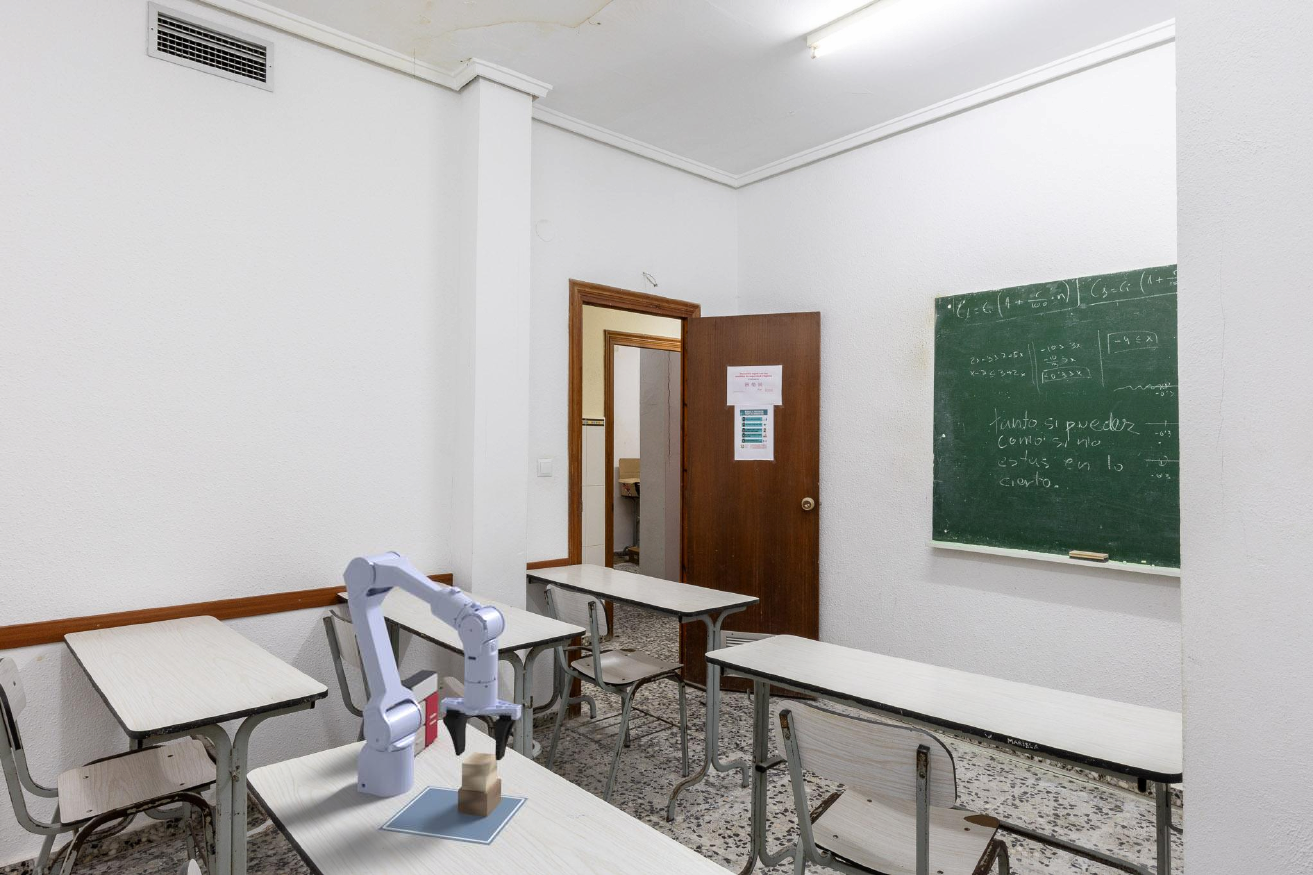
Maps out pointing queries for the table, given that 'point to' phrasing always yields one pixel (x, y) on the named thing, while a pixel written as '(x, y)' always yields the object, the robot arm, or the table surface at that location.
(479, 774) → the maple cube
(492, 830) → the board
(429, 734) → the red and white box
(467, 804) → the walnut block
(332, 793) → the table surface
